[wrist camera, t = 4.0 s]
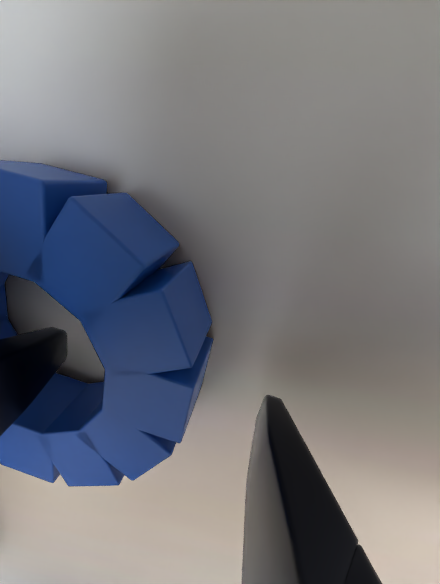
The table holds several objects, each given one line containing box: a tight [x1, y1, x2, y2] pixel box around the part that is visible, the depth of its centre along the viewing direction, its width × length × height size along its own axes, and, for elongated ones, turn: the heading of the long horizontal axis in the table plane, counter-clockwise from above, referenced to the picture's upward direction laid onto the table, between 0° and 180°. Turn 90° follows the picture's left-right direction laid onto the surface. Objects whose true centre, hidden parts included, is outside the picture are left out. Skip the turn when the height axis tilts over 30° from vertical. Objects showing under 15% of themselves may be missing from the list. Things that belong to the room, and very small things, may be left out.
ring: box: [0, 160, 213, 486], centre depth 8 cm, size 9×9×2 cm
